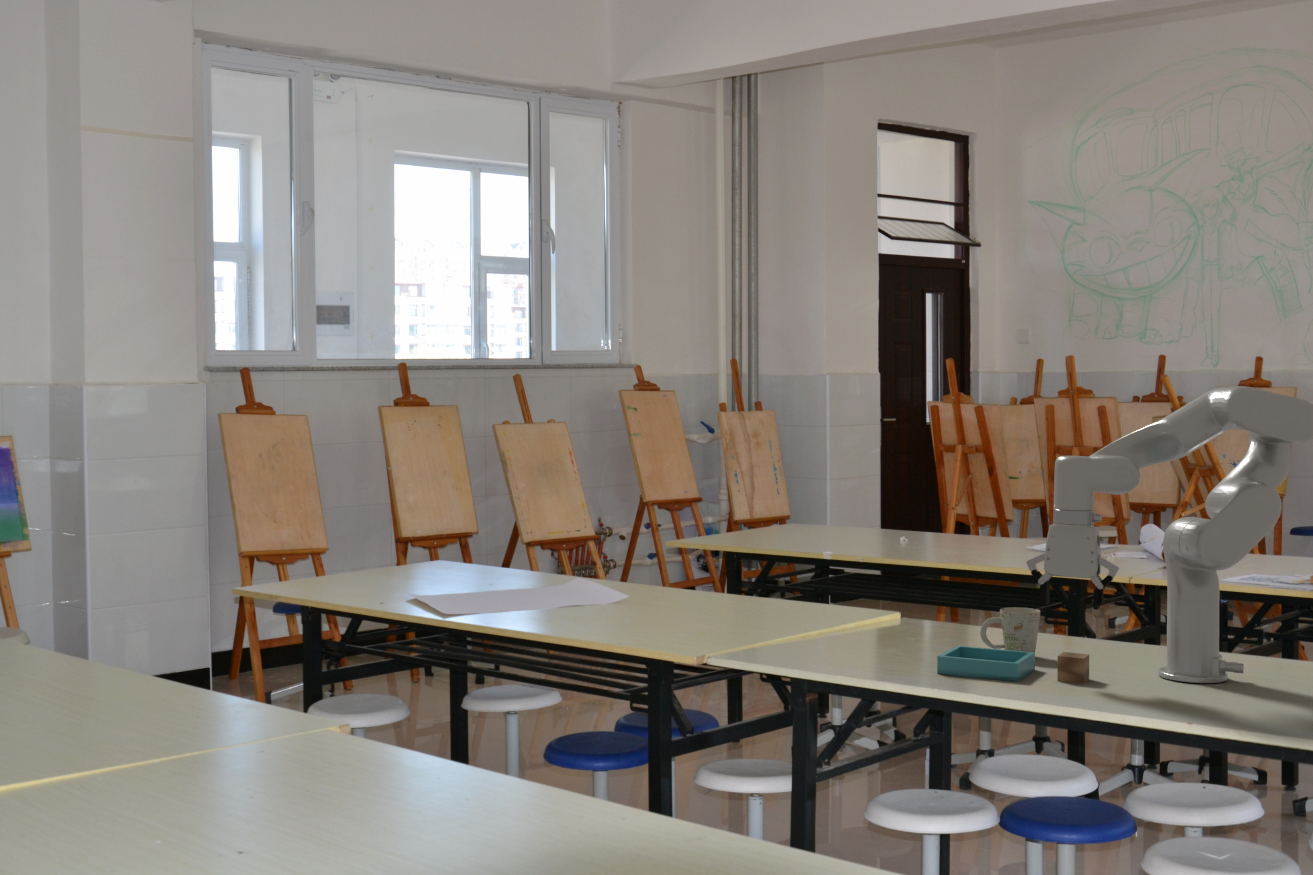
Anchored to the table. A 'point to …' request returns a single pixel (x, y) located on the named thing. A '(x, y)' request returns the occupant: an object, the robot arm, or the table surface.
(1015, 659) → the tray
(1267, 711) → the table surface
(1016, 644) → the mug
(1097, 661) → the table surface
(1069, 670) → the block
